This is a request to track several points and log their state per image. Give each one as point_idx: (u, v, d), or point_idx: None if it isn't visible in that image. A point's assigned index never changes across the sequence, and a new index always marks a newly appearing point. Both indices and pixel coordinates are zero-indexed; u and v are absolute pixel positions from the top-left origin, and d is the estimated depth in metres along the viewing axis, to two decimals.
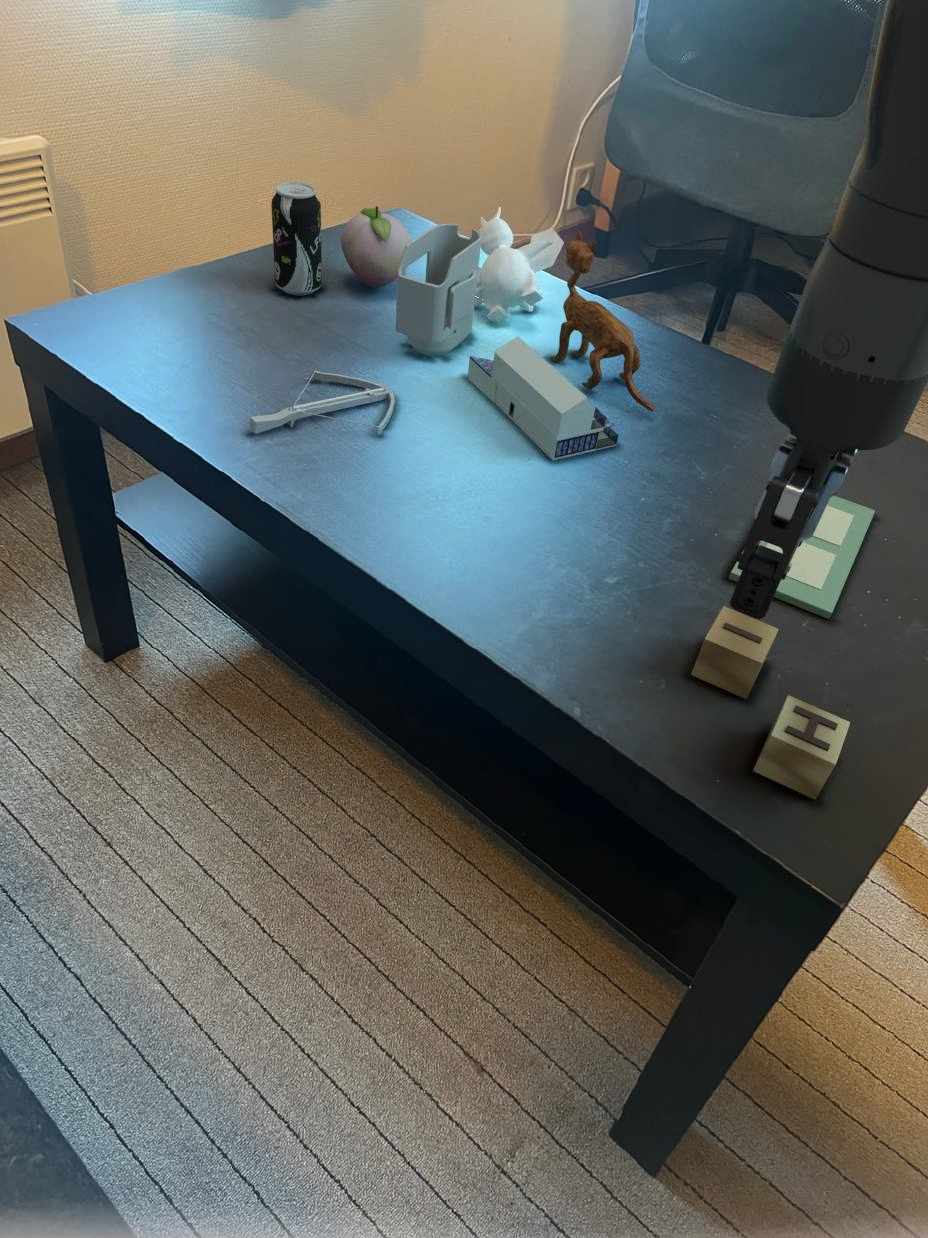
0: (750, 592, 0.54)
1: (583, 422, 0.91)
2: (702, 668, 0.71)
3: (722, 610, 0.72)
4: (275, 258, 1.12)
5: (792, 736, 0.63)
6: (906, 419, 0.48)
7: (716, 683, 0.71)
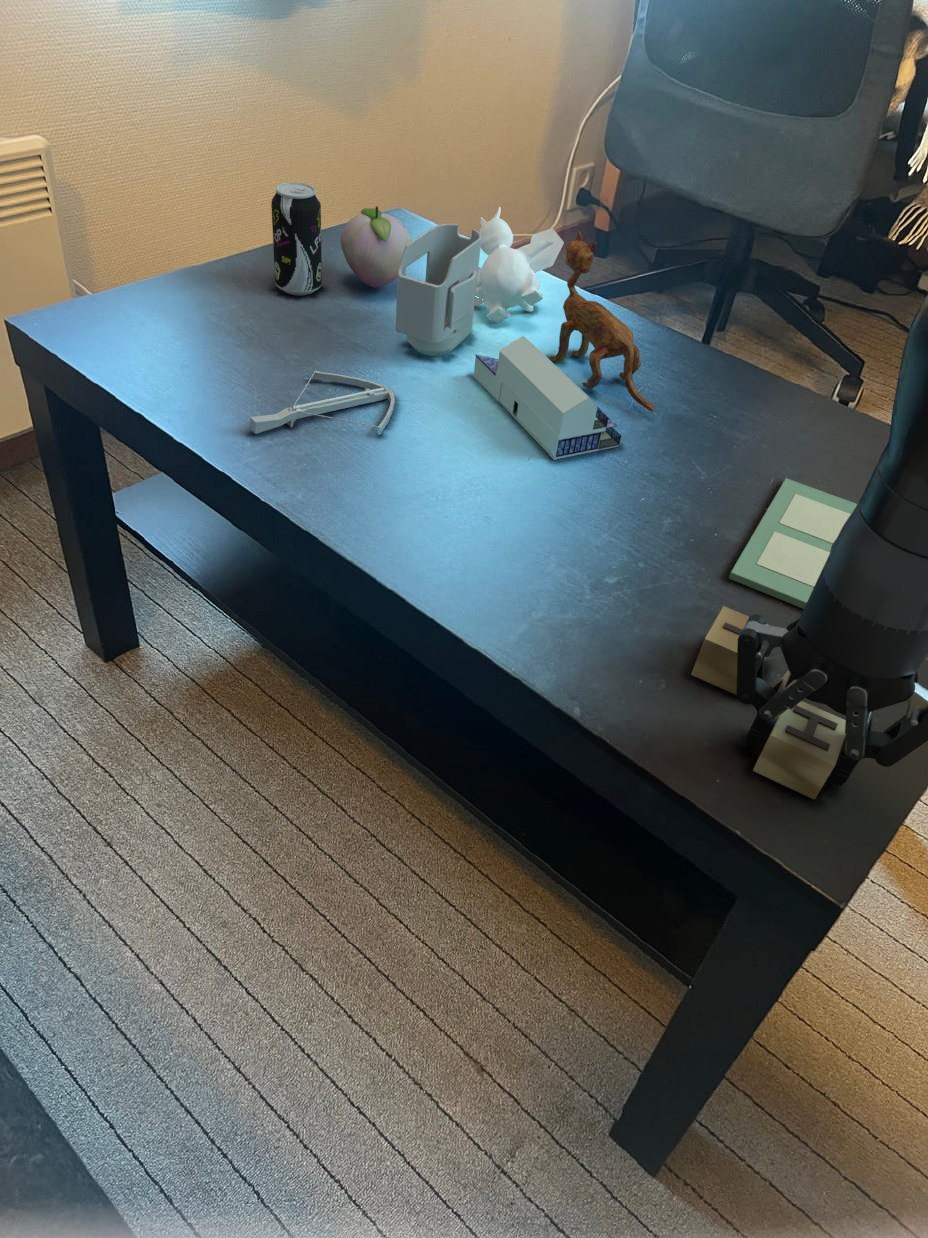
0: None
1: (585, 422, 0.91)
2: (702, 668, 0.71)
3: (722, 610, 0.72)
4: (275, 258, 1.12)
5: (792, 736, 0.63)
6: (838, 645, 0.55)
7: (716, 683, 0.71)
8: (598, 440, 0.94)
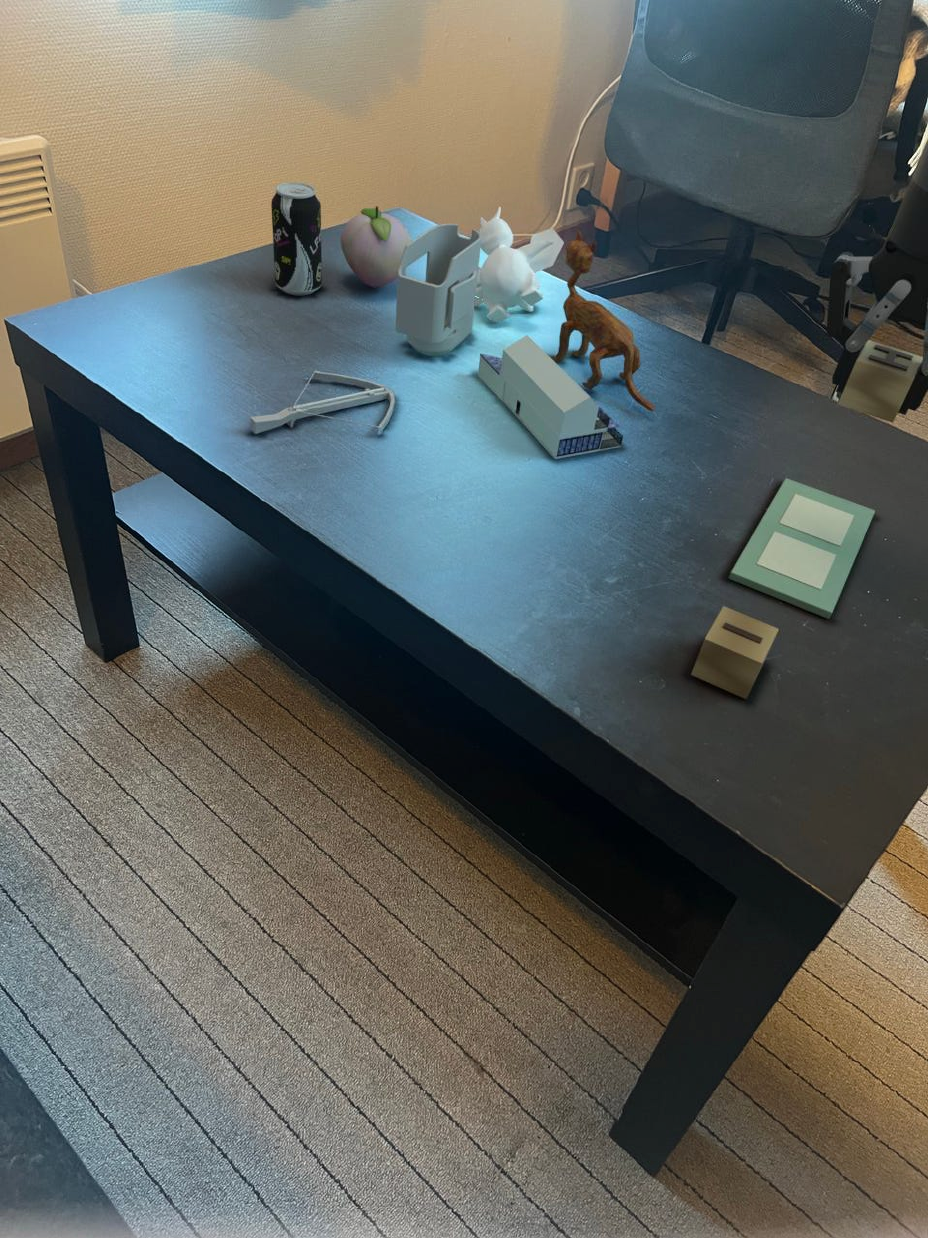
0: None
1: (586, 422, 0.91)
2: (702, 668, 0.71)
3: (722, 610, 0.72)
4: (275, 258, 1.12)
5: (875, 361, 0.73)
6: (926, 236, 0.65)
7: (716, 683, 0.71)
8: (600, 440, 0.94)
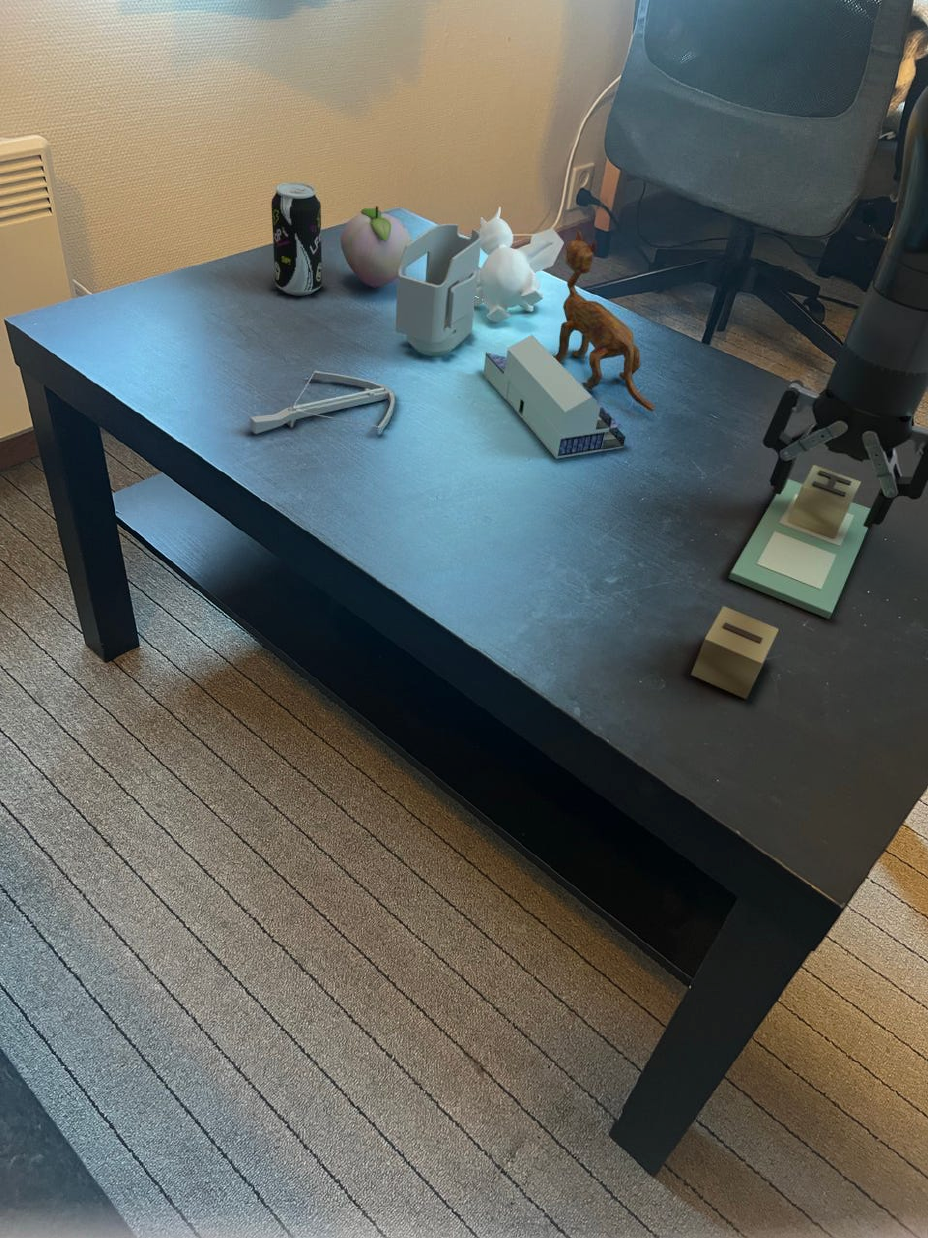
0: None
1: (588, 421, 0.91)
2: (702, 668, 0.71)
3: (722, 610, 0.72)
4: (275, 258, 1.12)
5: (817, 487, 0.84)
6: (856, 391, 0.76)
7: (716, 683, 0.71)
8: (601, 440, 0.94)
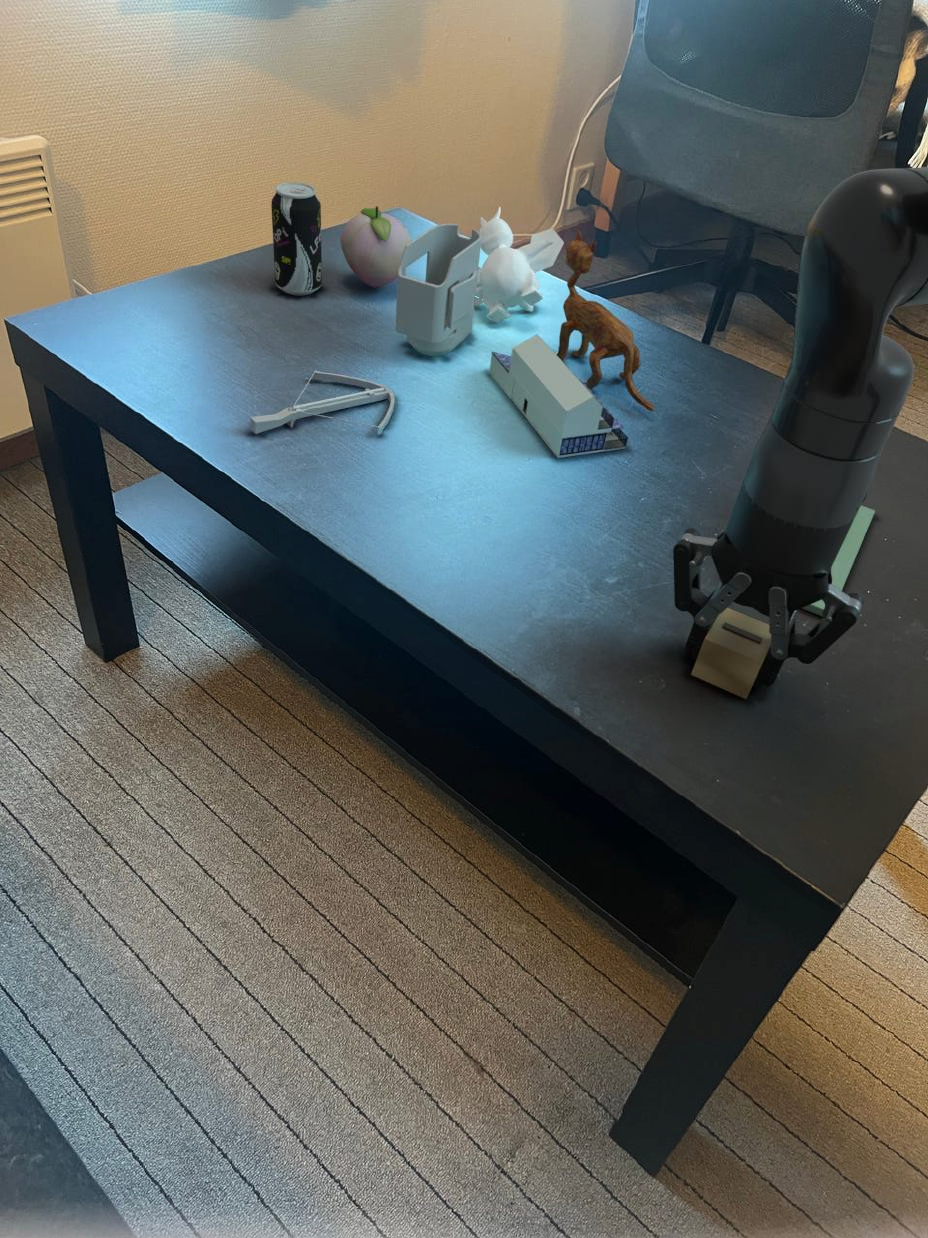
0: None
1: (589, 421, 0.91)
2: (702, 668, 0.71)
3: None
4: (275, 258, 1.12)
5: None
6: (756, 545, 0.61)
7: (716, 683, 0.71)
8: (604, 441, 0.94)
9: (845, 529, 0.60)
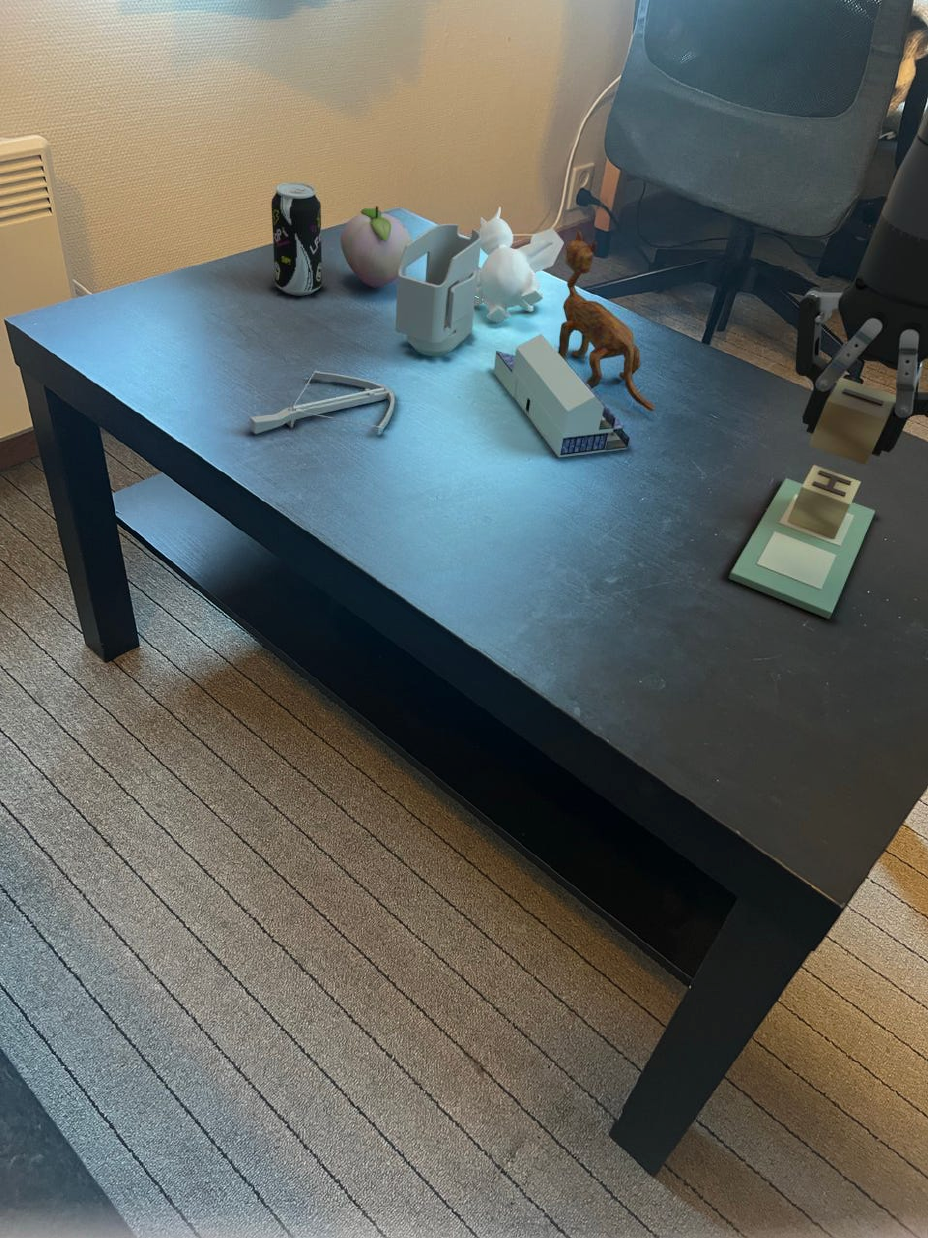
0: None
1: (591, 421, 0.91)
2: (821, 435, 0.71)
3: (840, 380, 0.72)
4: (275, 258, 1.12)
5: (817, 487, 0.84)
6: (896, 275, 0.61)
7: (835, 451, 0.72)
8: (605, 441, 0.94)
9: None
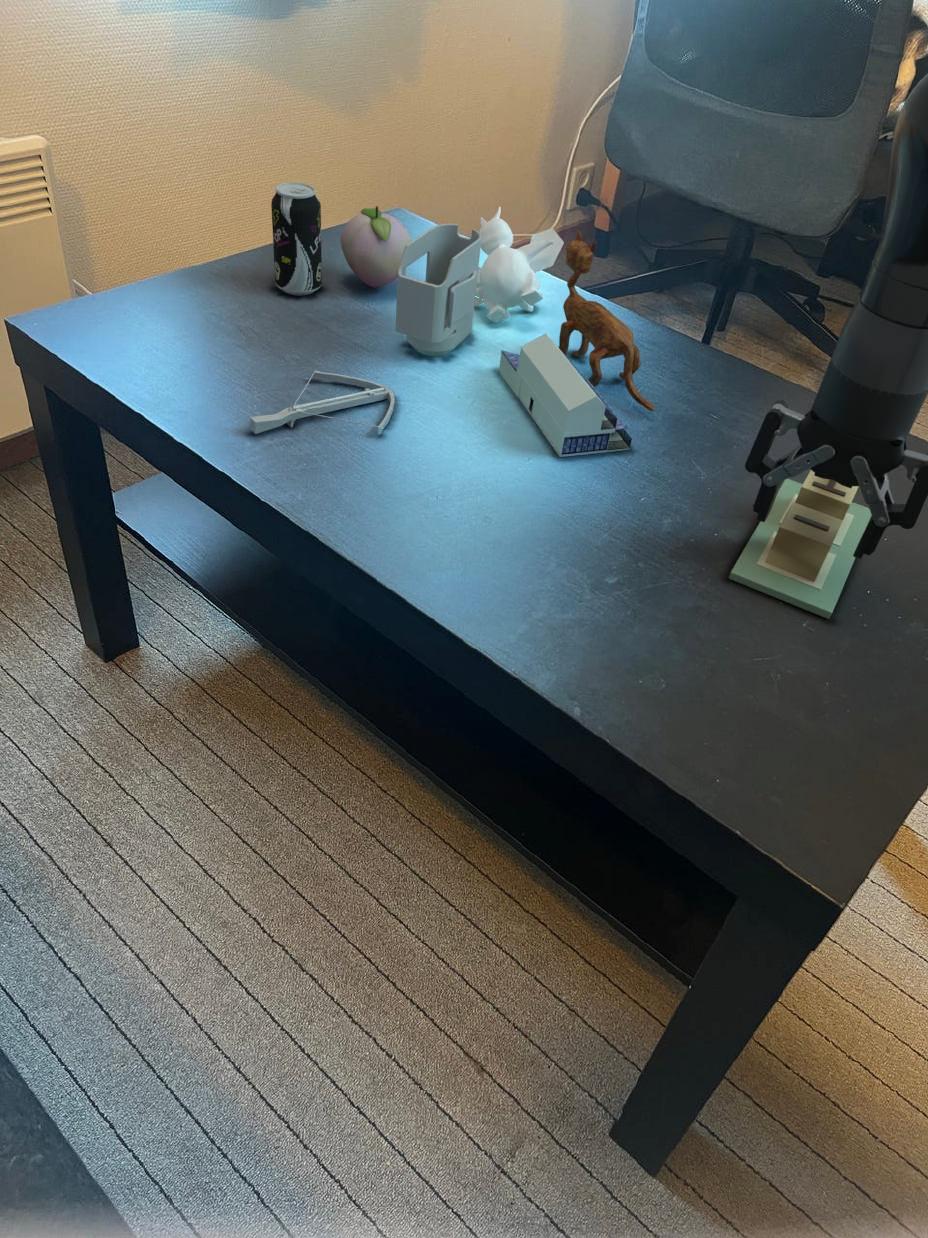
0: None
1: (592, 421, 0.91)
2: (775, 555, 0.81)
3: (792, 505, 0.82)
4: (275, 258, 1.12)
5: (817, 487, 0.84)
6: (843, 413, 0.70)
7: (787, 568, 0.81)
8: (607, 441, 0.94)
9: (922, 397, 0.69)
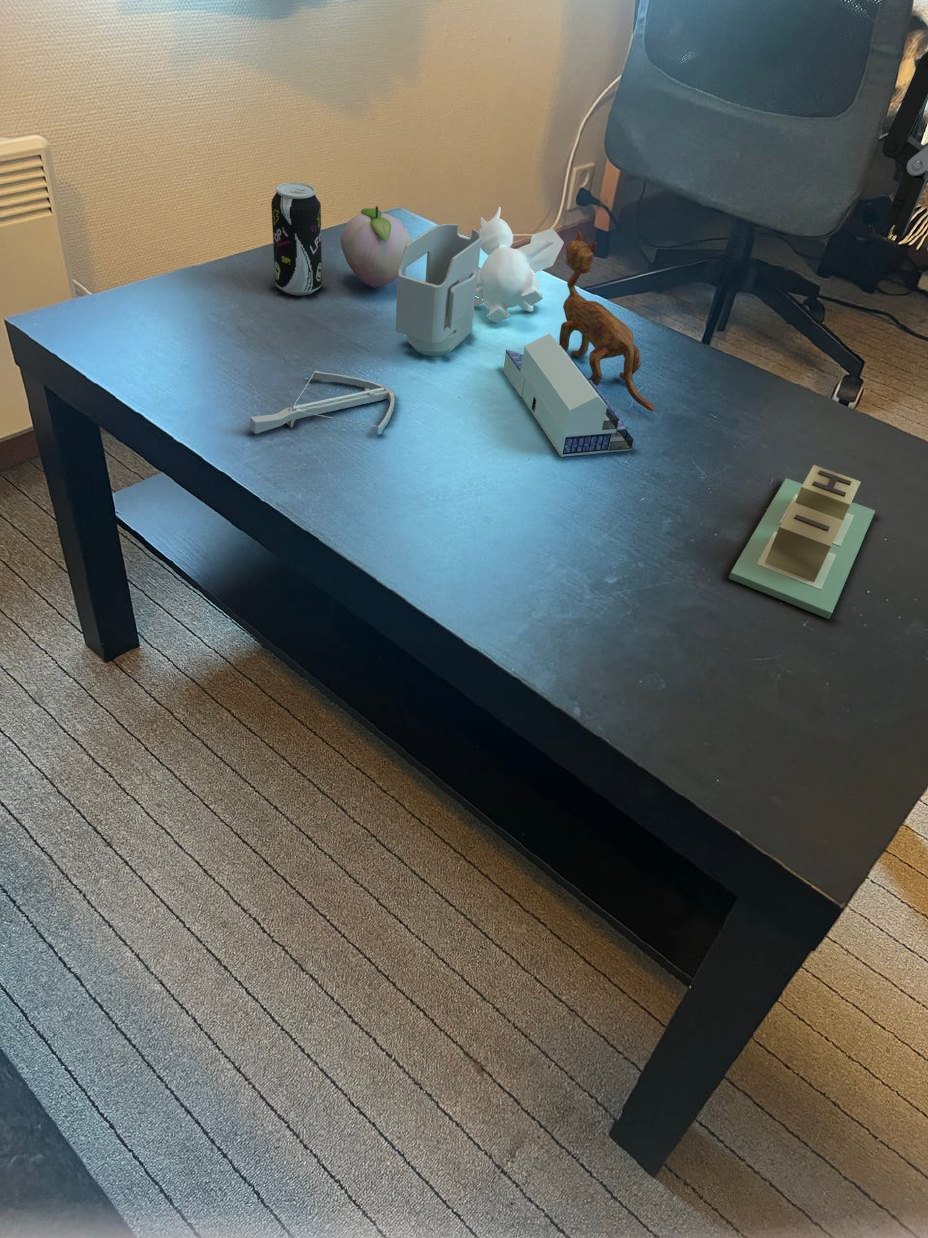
0: None
1: (593, 421, 0.91)
2: (775, 555, 0.81)
3: (792, 505, 0.82)
4: (275, 258, 1.12)
5: (817, 487, 0.84)
6: None
7: (787, 568, 0.81)
8: (608, 441, 0.94)
9: None
